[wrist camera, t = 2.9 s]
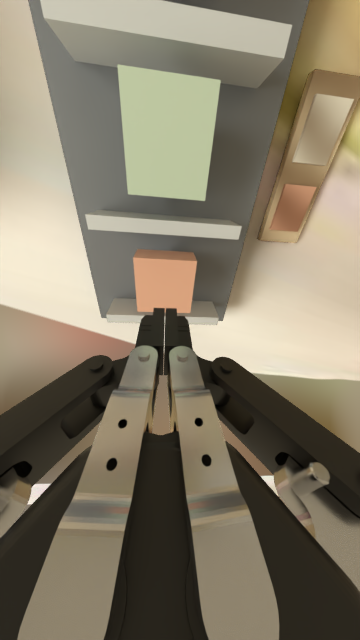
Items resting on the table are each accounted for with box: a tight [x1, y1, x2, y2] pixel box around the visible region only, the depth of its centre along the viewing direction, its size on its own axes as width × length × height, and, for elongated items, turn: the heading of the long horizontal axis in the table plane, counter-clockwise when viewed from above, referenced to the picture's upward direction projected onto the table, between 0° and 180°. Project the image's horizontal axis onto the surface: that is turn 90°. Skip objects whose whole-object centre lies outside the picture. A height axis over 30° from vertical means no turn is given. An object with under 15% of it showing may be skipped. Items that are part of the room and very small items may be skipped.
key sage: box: [117, 64, 221, 201], centre depth 12 cm, size 5×5×5 cm
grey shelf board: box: [28, 0, 309, 325], centre depth 14 cm, size 32×16×6 cm, turn 176°
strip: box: [258, 69, 360, 243], centre depth 17 cm, size 12×4×1 cm, turn 176°
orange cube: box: [133, 249, 197, 313], centre depth 17 cm, size 5×5×5 cm
